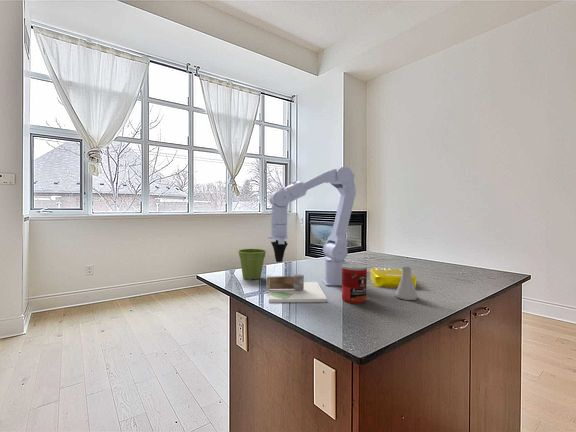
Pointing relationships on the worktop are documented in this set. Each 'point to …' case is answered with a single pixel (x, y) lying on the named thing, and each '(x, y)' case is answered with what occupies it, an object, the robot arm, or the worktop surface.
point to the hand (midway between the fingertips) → (279, 261)
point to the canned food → (354, 283)
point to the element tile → (388, 277)
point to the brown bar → (285, 282)
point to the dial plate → (298, 294)
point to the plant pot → (252, 262)
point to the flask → (406, 286)
